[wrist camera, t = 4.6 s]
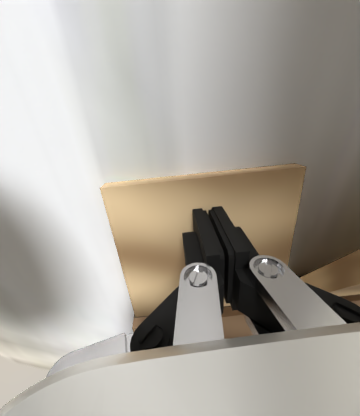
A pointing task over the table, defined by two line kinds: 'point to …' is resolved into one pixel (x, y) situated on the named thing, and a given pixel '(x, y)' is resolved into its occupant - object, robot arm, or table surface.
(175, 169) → the table surface
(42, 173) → the table surface
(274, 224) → the oak plank
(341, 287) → the oak plank
